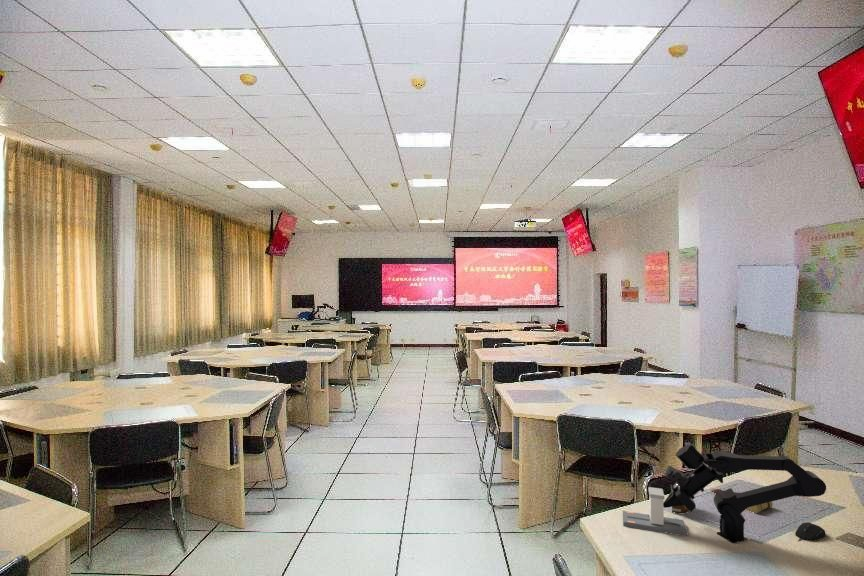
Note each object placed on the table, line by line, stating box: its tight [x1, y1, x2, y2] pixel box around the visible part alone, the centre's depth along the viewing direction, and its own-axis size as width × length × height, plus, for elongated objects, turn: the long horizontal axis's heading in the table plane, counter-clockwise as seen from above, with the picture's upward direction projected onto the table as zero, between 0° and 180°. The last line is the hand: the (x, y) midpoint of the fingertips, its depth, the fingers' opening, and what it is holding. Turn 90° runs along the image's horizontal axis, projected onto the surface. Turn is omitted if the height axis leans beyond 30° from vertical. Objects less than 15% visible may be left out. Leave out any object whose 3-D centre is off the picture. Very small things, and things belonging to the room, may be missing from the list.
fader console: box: [622, 510, 688, 537], centre depth 167 cm, size 20×9×2 cm, turn 69°
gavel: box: [710, 488, 774, 514], centre depth 186 cm, size 21×5×10 cm
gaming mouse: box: [794, 522, 827, 542], centre depth 160 cm, size 6×15×4 cm, turn 119°
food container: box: [671, 482, 690, 514], centre depth 179 cm, size 12×6×10 cm, turn 143°
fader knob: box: [648, 486, 665, 525], centre depth 167 cm, size 5×6×10 cm
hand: (663, 506), depth 166 cm, fingers closed, pressing on fader knob
